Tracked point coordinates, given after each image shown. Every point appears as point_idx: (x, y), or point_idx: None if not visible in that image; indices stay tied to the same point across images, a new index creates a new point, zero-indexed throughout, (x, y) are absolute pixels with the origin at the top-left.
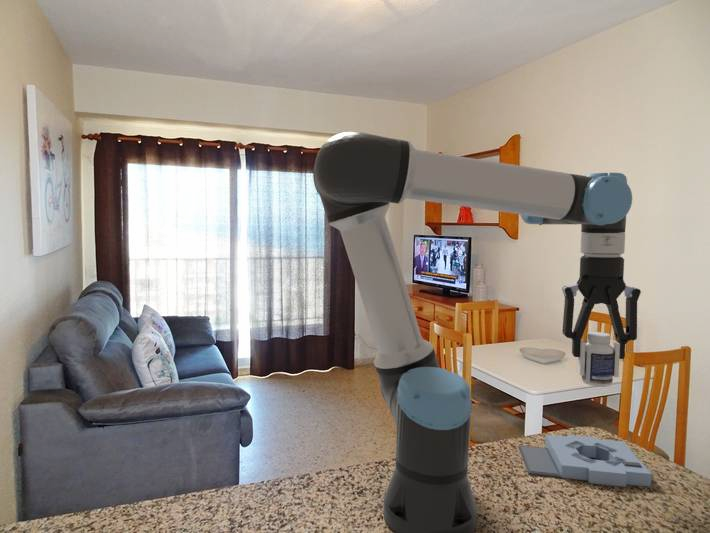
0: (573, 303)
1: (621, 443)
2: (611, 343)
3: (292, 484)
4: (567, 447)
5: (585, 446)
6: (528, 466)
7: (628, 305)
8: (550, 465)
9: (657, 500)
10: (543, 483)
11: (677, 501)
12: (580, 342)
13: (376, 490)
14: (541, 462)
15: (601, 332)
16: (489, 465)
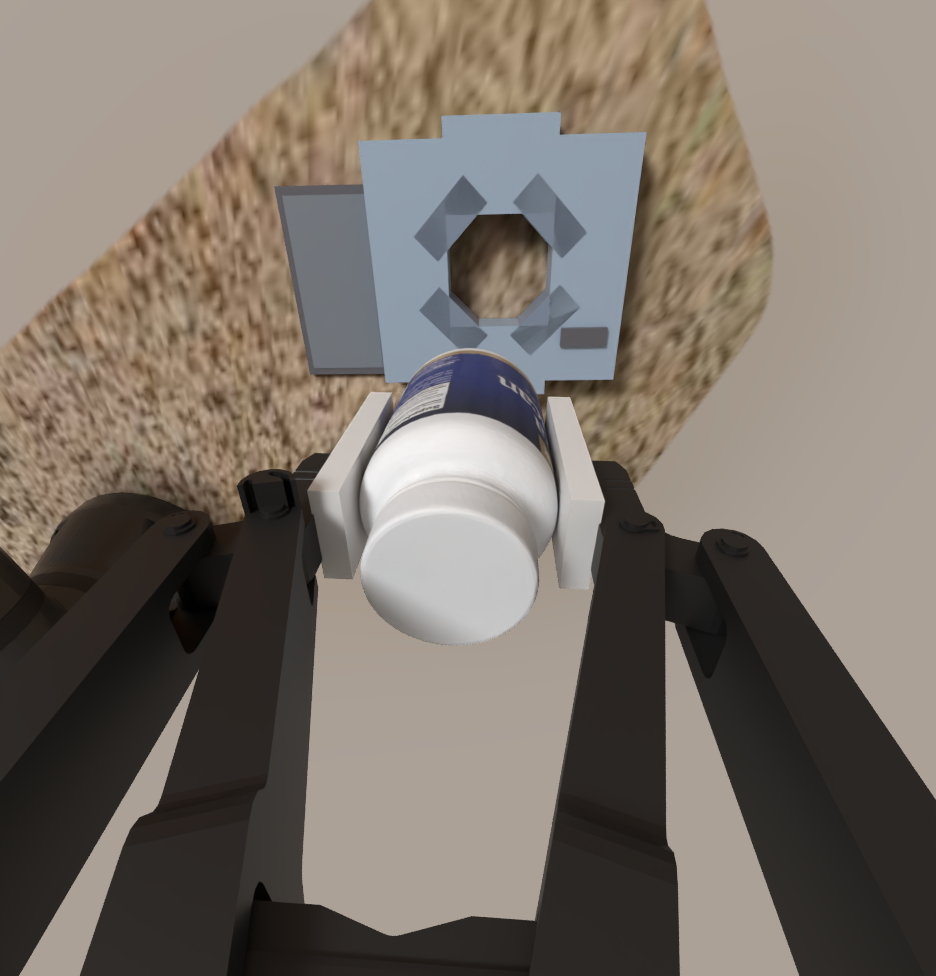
0: (23, 955)
1: (628, 156)
2: (566, 498)
3: None
4: (420, 251)
5: (486, 213)
6: (309, 344)
7: (831, 961)
8: (368, 324)
9: (587, 427)
10: (346, 408)
11: (632, 422)
12: (323, 554)
13: (27, 504)
14: (344, 310)
15: (493, 529)
16: (211, 346)
